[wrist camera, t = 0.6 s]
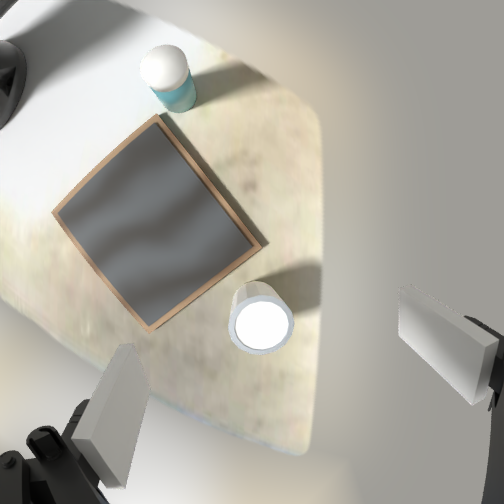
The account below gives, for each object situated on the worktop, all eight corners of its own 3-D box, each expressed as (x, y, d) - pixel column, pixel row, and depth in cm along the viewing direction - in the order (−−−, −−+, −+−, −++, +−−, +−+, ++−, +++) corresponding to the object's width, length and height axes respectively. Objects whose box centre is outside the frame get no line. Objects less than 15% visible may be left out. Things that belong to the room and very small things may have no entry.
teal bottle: (156, 95, 33) (131, 64, 22) (183, 75, 33) (169, 36, 22) (175, 119, 34) (156, 95, 23) (203, 99, 34) (195, 66, 23)
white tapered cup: (253, 264, 38) (260, 281, 32) (294, 299, 40) (308, 322, 33) (215, 305, 39) (214, 330, 32) (256, 337, 40) (263, 366, 34)
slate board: (54, 211, 35) (50, 212, 34) (158, 115, 34) (156, 112, 32) (150, 330, 39) (148, 334, 38) (261, 245, 38) (262, 248, 37)
